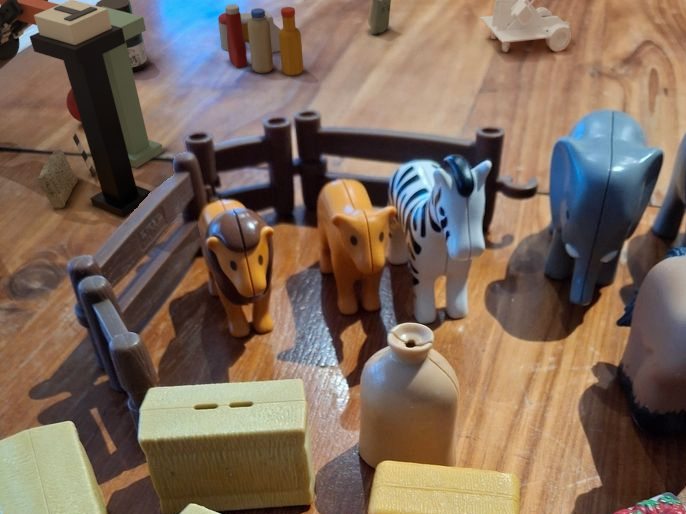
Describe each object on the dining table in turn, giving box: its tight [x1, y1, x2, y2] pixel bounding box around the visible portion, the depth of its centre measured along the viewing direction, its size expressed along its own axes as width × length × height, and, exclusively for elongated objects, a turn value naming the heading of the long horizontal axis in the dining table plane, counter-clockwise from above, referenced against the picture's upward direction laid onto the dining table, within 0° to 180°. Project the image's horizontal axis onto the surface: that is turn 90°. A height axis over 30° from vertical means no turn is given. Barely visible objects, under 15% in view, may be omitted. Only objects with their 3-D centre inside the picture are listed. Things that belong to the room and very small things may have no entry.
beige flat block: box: [0, 0, 112, 45], centre depth 102 cm, size 17×7×3 cm, turn 57°
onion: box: [66, 88, 82, 123], centre depth 136 cm, size 6×6×8 cm
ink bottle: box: [95, 0, 149, 73], centre depth 152 cm, size 10×9×12 cm
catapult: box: [479, 0, 572, 53], centre depth 156 cm, size 18×14×16 cm
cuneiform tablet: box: [37, 133, 96, 210], centre depth 121 cm, size 7×4×12 cm
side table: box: [102, 6, 164, 169], centre depth 123 cm, size 9×9×22 cm
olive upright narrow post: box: [367, 0, 392, 37], centre depth 164 cm, size 6×5×8 cm
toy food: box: [217, 4, 304, 77], centre depth 154 cm, size 27×13×12 cm, turn 26°
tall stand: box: [29, 25, 152, 219], centre depth 111 cm, size 9×9×26 cm
